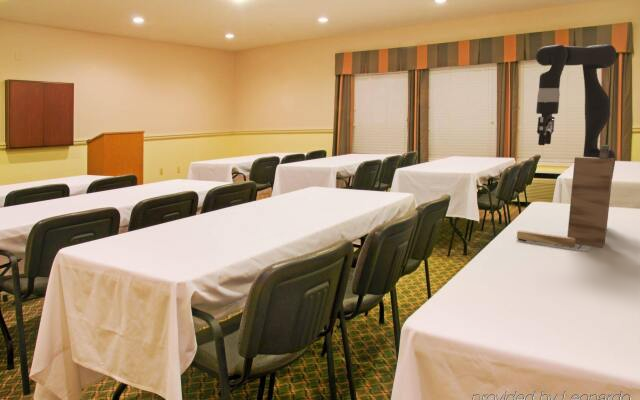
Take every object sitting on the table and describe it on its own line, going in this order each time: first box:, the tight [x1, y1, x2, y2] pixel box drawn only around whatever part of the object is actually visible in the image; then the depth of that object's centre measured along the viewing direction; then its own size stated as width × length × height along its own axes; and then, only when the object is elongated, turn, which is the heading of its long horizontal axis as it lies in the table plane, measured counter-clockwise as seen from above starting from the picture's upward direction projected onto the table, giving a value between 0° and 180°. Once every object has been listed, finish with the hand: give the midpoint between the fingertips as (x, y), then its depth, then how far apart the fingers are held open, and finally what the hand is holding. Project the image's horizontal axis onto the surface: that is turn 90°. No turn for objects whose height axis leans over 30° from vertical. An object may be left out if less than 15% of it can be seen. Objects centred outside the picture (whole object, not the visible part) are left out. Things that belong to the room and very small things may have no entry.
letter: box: [524, 240, 592, 253], centre depth 189 cm, size 8×21×1 cm, turn 53°
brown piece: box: [566, 144, 615, 249], centre depth 188 cm, size 6×12×37 cm, turn 53°
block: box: [516, 229, 576, 247], centre depth 191 cm, size 3×20×3 cm, turn 53°
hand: (544, 144), depth 194 cm, fingers open, 8 cm apart
